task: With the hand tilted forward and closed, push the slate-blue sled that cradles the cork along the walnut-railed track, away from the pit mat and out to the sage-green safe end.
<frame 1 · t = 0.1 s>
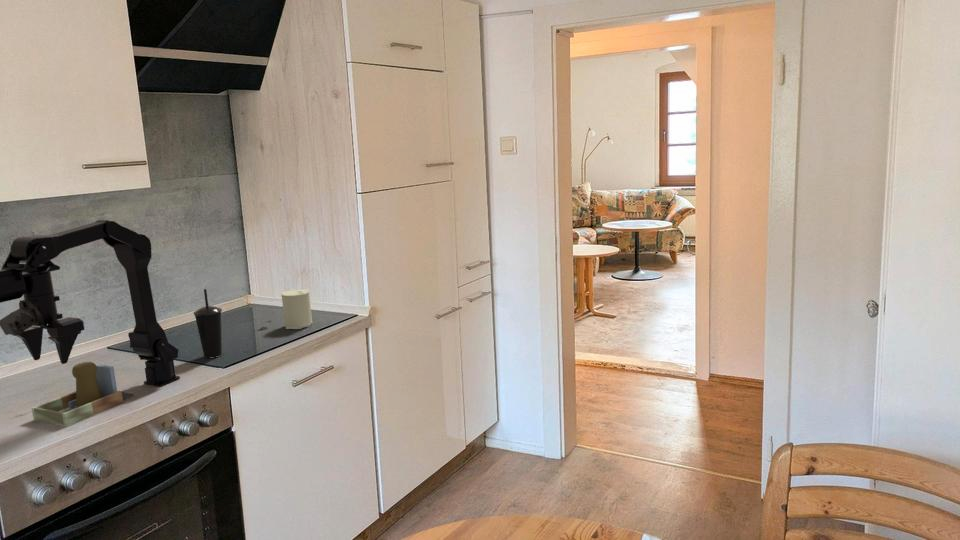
hand: (50, 361, 156), 15 cm above the worktop, tool pointing down, fingers open, 9 cm apart
drinking cup: (213, 356, 204), on the worktop
track: (79, 411, 166), on the worktop
pit mat: (115, 396, 175), on the worktop
cork: (90, 407, 168), on the worktop
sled: (91, 387, 168), point 5 cm above the worktop, slide at 0.0 cm
can: (298, 326, 233), on the worktop
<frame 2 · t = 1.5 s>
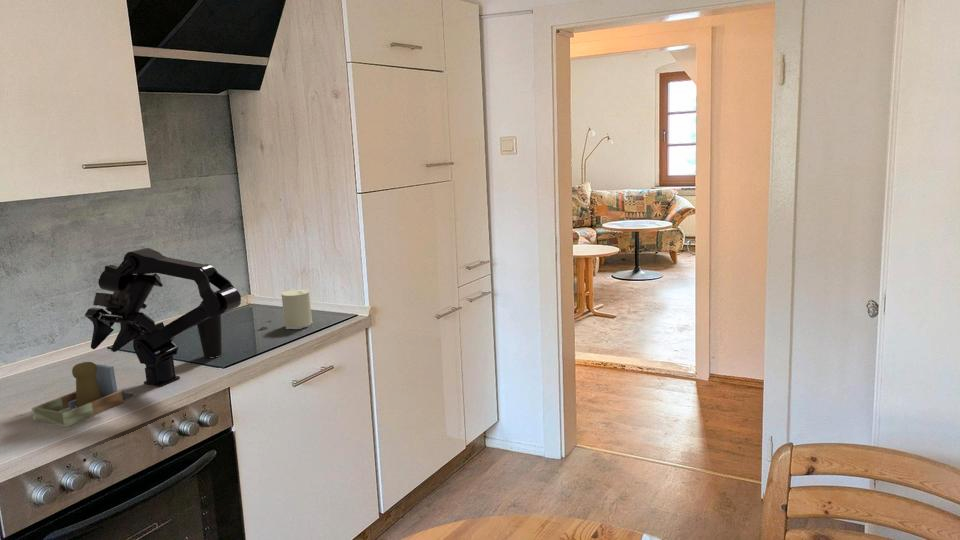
hand: (102, 349, 171), 13 cm above the worktop, tool tilted 45°, fingers open, 7 cm apart
nothing on the worktop moved.
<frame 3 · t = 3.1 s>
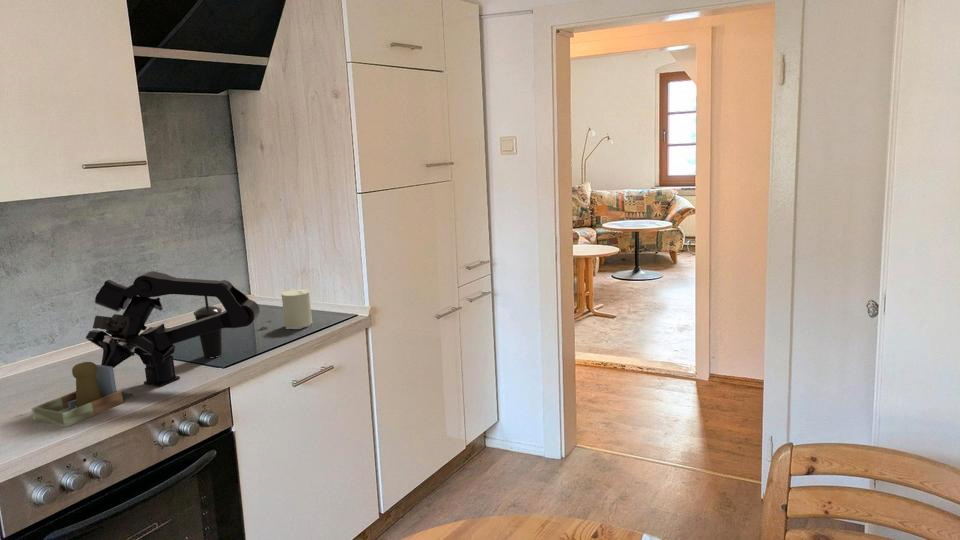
hand: (102, 372, 171), 7 cm above the worktop, tool tilted 45°, fingers closed, pressing on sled
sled: (90, 387, 168), point 5 cm above the worktop, slide at 0.2 cm, touching gripper
everything else where it was.
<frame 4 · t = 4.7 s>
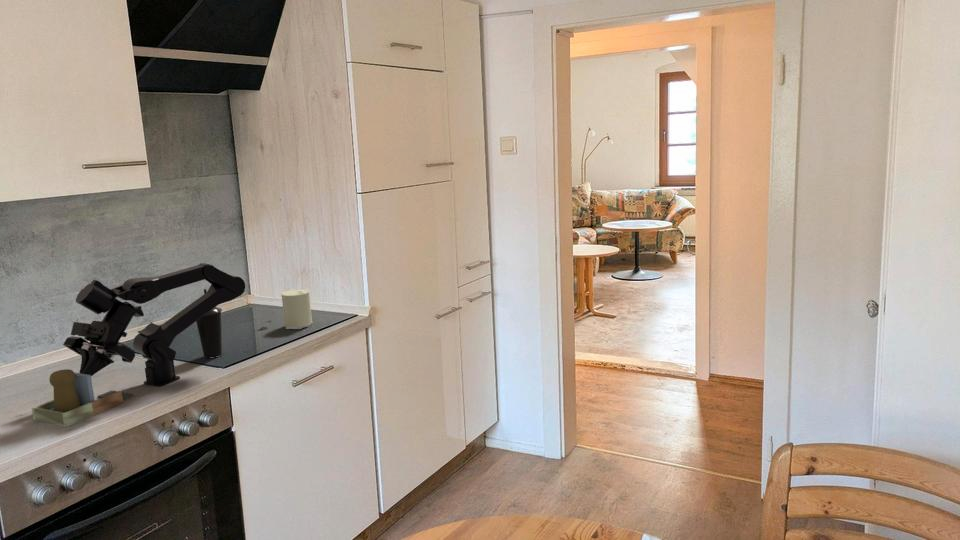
hand: (80, 381, 166), 7 cm above the worktop, tool tilted 45°, fingers closed, pressing on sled
cork: (69, 416, 163), on the worktop, touching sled
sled: (67, 396, 163), point 5 cm above the worktop, slide at 6.1 cm, touching gripper, cork
everything else where it was.
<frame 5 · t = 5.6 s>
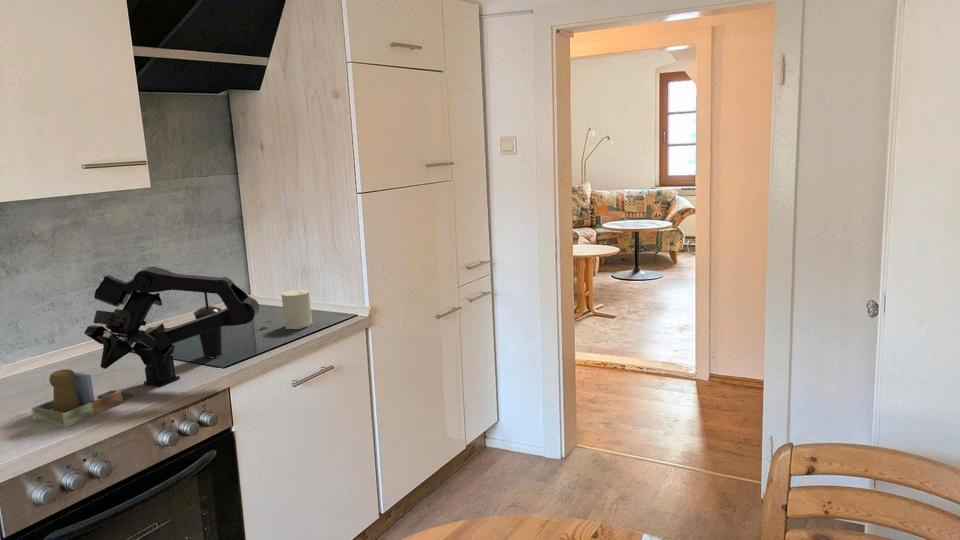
hand: (102, 368, 171), 8 cm above the worktop, tool tilted 45°, fingers closed
cork: (69, 416, 163), on the worktop
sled: (67, 396, 163), point 5 cm above the worktop, slide at 6.1 cm
everything else where it was.
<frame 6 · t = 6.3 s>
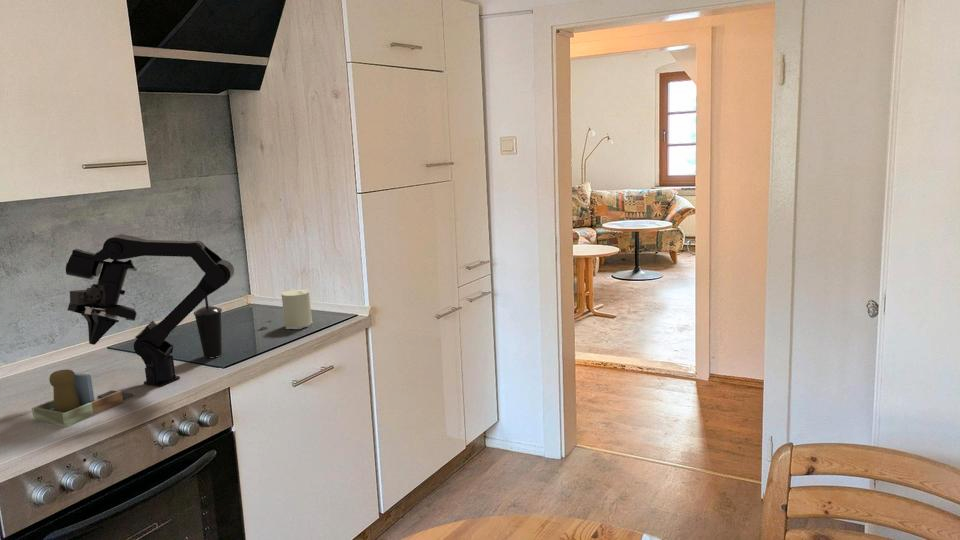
hand: (91, 344, 173), 14 cm above the worktop, tool tilted 30°, fingers closed
nothing on the worktop moved.
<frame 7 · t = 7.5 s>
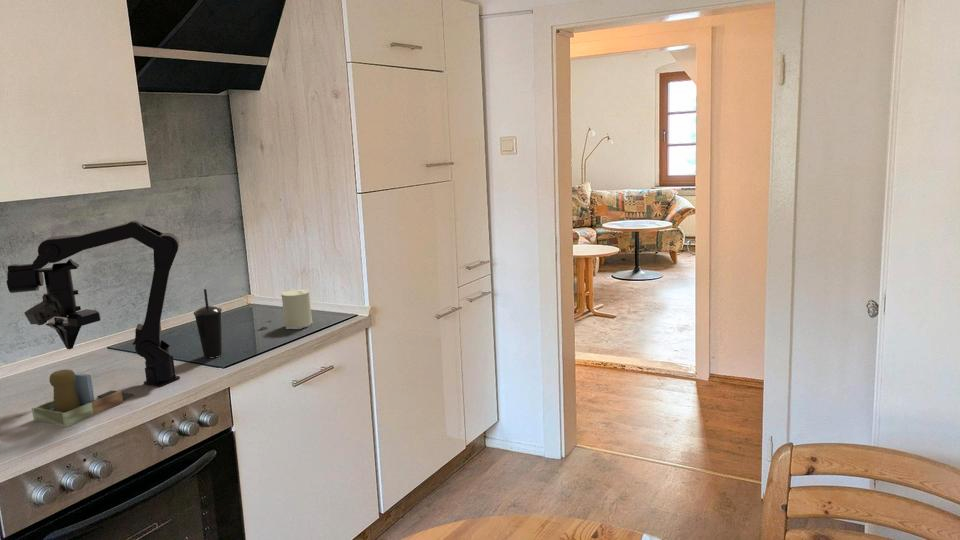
hand: (69, 348, 175), 12 cm above the worktop, tool pointing down, fingers closed
nothing on the worktop moved.
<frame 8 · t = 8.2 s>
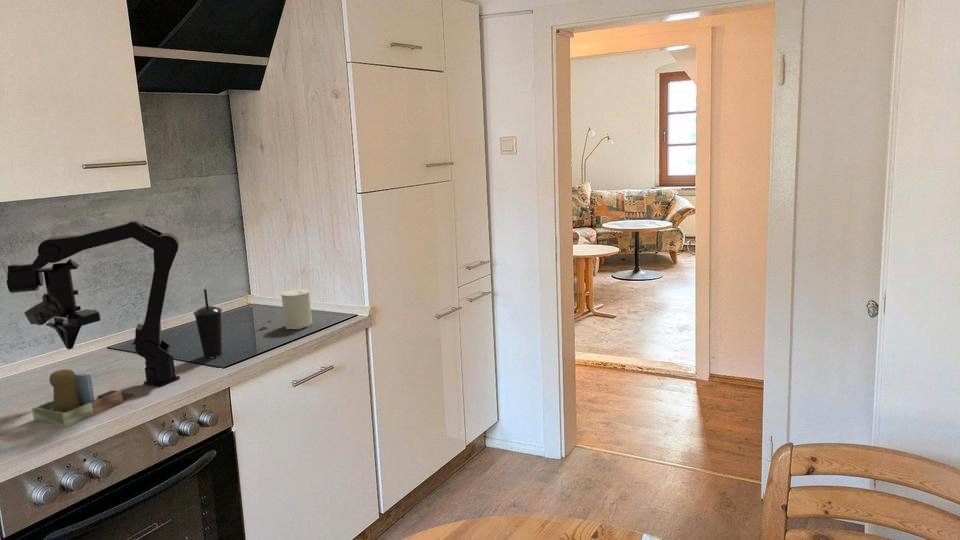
hand: (69, 348, 175), 12 cm above the worktop, tool pointing down, fingers closed
nothing on the worktop moved.
at the end: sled slide at 6.1 cm; cork inside the target area (1.4 cm from its centre), on the worktop; cork tilted 0° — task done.
